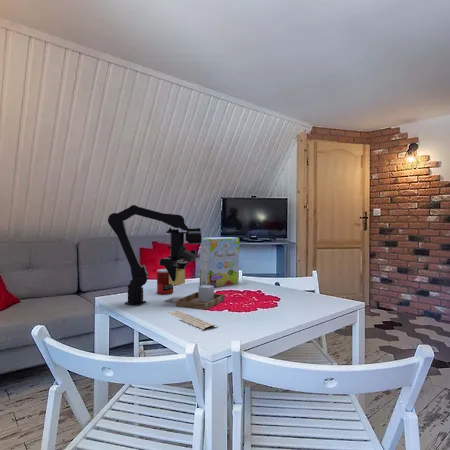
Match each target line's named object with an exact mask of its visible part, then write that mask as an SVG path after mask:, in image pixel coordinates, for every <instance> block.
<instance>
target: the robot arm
mask: <svg viewBox="0 0 450 450" xmlns="http://www.w3.org/2000/svg"><path fill="white" fill-rule="evenodd" d="M135 215H136V216H140V217H143V218H147V219H151V220H155V221H159V222H161V223H163V224H166V225H168V226H170V227H169V228H168V230H166V231H165V234H170V245H169V246H168V247H167V248H168V249H169V250H170V253H169V254H170V255H168V256H167V257H163V258H160V260H159V266H163V267H164V268H165V269H167V271H168V273H169V275H170V277H171V279H172V281H175V278H176V269H185V270H186V267H187V266H188V265H189V264H190V263H192V262H195V261H196V258H198V250H195V249H191V250H187V247H186V245H185V242H187V244H188V245H189V244H190V245H193V244H194V245H196V244H197V245H198V244H199V245H201V240H202V238H203V237H202V228H200V227H196V228H188V227H189V226H188V225H186V223H185V219H184V216H183V215H181V214H175V213H164V212H160V211H157V210H152V209H149V208H145V207H143V206H142V207H141V206H138V205H136V204H132V205H130V206H129V207H127V208H125V209H123V210H121V211H119V212H112V213H111V214H109V216H108V217H107V222H108V225H109V226H110V228H111V229H112V230H113V232H114V233H115V235H116V236H117V239H118V240H119V243H120V246H121V247H122V250H123V253H124V255H125V258H126V259H127V262H128V264H129V267H130V268H129V269H130V272H131V278H132V279H131V280H130V281H129V282H128V284H127V288H128V289H127V301H126V302H124V304H125V305H133V306H139V305H143V304H144V303H147V301H146V300H144V287H143V286H144V285H145V284H146V283H147V282H148V278H149V277H148V275H149V272H148V271H147V268H146V265H145V264H141V263H140V262H139V260H138V257H137V255H136V252H135V250H134V246H133V245H132V242H131V240H130V237H129V236H128V233H127V227H126V222H125V221H126V220H128V219H131V218H132V217H133V216H135ZM171 227H172V228H176V229H172V228H171ZM180 229H181V230H182V231H180Z"/></svg>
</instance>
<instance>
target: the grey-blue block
mask: <svg viewBox="0 0 450 450" xmlns="http://www.w3.org/2000/svg"><path fill="white" fill-rule="evenodd" d="M197 292H198V301H202V302H210V301H212V300H214V294H215V287H214V286H209V285H203V286H200V285H199V286H198V290H197Z"/></svg>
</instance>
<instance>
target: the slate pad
mask: <svg viewBox="0 0 450 450" xmlns="http://www.w3.org/2000/svg"><path fill="white" fill-rule="evenodd" d="M181 298H182V297H178V296H177V297H176V296H175V297H174V296H173V297H171V298H168V299H165V300H164V301H163V302H164V303H165V302H166V303H173V304H174V303H175V304H176V300H179V299H181Z"/></svg>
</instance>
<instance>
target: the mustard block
mask: <svg viewBox="0 0 450 450" xmlns="http://www.w3.org/2000/svg"><path fill="white" fill-rule="evenodd" d="M185 283H186V268H185V269H176V278H175V281H172V279H171V277H170V275H169V284H172V285H173V286H174V285H175V286H176V285H177V286H180V285H185Z"/></svg>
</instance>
